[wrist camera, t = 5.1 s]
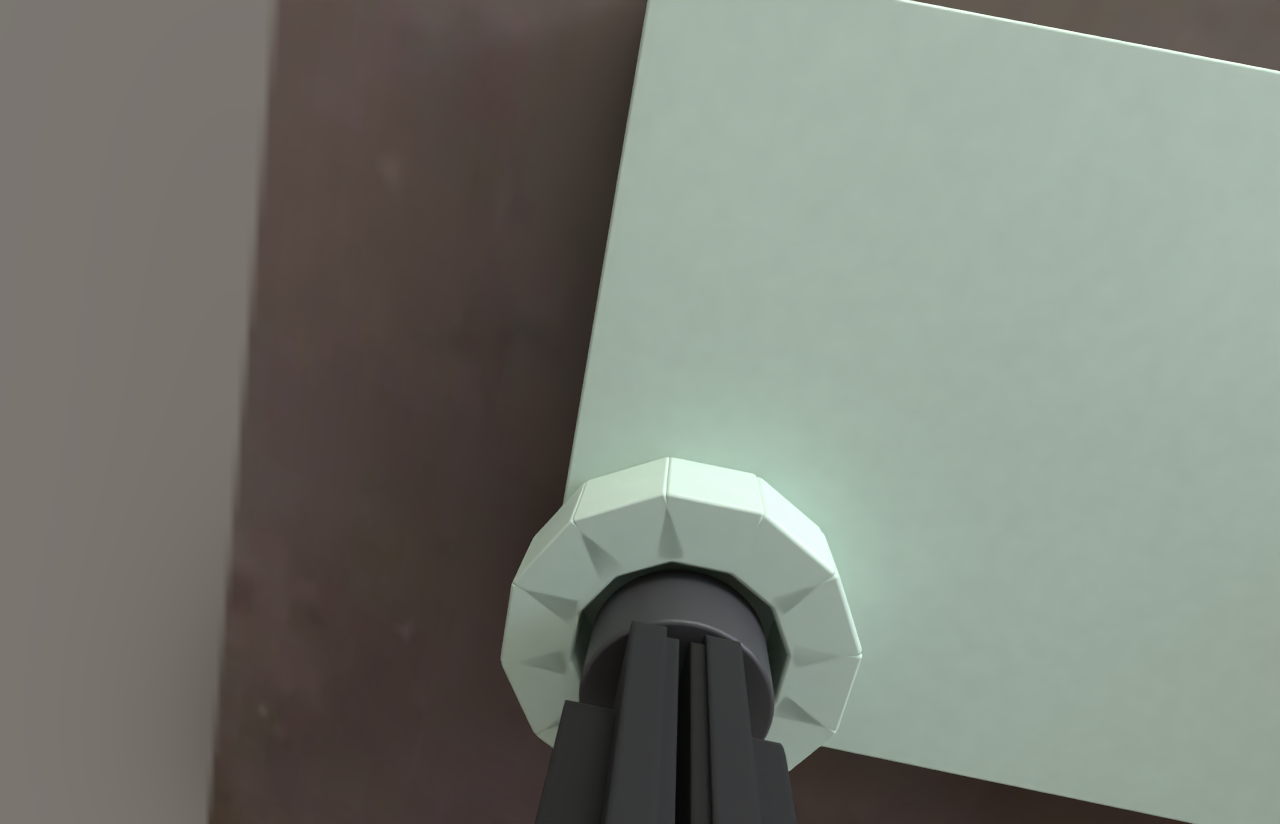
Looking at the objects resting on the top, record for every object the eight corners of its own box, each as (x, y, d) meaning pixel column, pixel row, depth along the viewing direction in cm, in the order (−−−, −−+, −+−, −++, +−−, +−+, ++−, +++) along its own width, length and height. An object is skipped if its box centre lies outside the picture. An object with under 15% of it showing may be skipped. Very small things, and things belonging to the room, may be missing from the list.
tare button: (579, 696, 13) (563, 763, 11) (607, 551, 12) (594, 603, 10) (743, 730, 13) (749, 802, 11) (784, 587, 12) (797, 644, 10)
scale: (527, 643, 16) (484, 761, 13) (635, -20, 12) (612, -98, 9) (1247, 792, 16) (1391, 952, 13) (1608, 167, 12) (1965, 160, 8)
